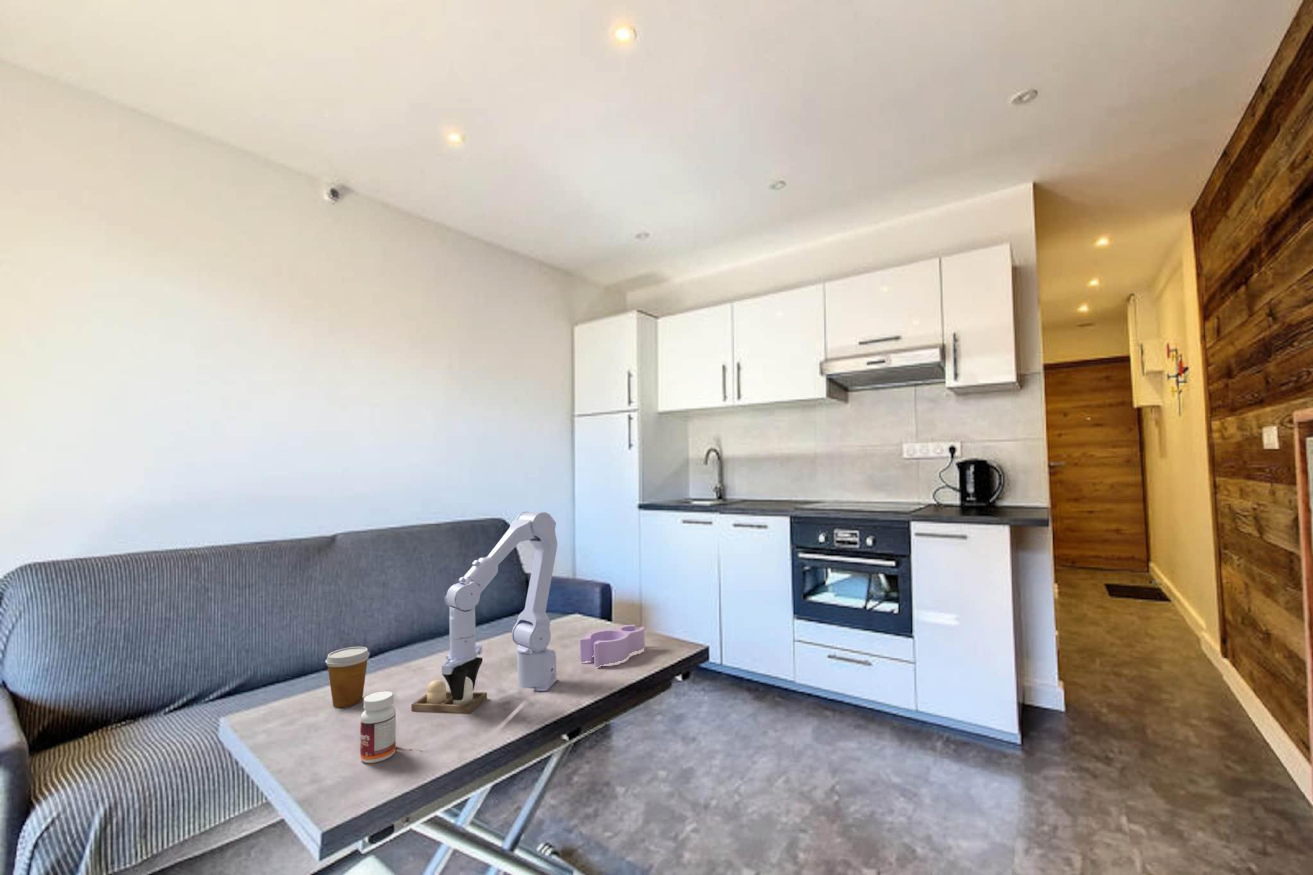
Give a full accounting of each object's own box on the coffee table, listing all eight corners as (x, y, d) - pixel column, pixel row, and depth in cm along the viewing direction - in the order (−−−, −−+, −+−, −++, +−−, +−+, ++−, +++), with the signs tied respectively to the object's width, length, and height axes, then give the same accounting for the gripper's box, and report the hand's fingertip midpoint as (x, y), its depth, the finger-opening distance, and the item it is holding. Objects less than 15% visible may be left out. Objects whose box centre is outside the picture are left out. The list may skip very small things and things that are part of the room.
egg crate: (487, 701, 130) (486, 692, 130) (469, 716, 122) (469, 706, 122) (431, 699, 132) (431, 690, 132) (411, 714, 124) (411, 704, 124)
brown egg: (449, 700, 129) (449, 677, 130) (439, 708, 125) (439, 683, 126) (433, 700, 130) (433, 676, 130) (423, 707, 126) (423, 683, 126)
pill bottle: (355, 757, 105) (355, 697, 106) (387, 744, 110) (387, 687, 111) (368, 767, 101) (368, 705, 102) (401, 753, 106) (401, 694, 107)
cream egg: (460, 697, 129) (459, 673, 129) (476, 698, 128) (476, 673, 129) (449, 705, 125) (448, 680, 125) (466, 706, 124) (465, 680, 124)
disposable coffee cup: (378, 697, 135) (378, 648, 136) (342, 712, 127) (342, 660, 127) (352, 692, 139) (352, 644, 140) (316, 707, 131) (316, 656, 131)
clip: (626, 645, 170) (625, 622, 171) (654, 653, 161) (653, 629, 162) (574, 662, 156) (573, 637, 157) (601, 672, 147) (600, 645, 148)
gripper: (463, 626, 135) (464, 682, 134) (428, 645, 121) (429, 707, 120) (489, 627, 134) (490, 683, 133) (457, 645, 120) (458, 708, 119)
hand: (463, 695), depth 127 cm, fingers closed on cream egg, 4 cm apart
